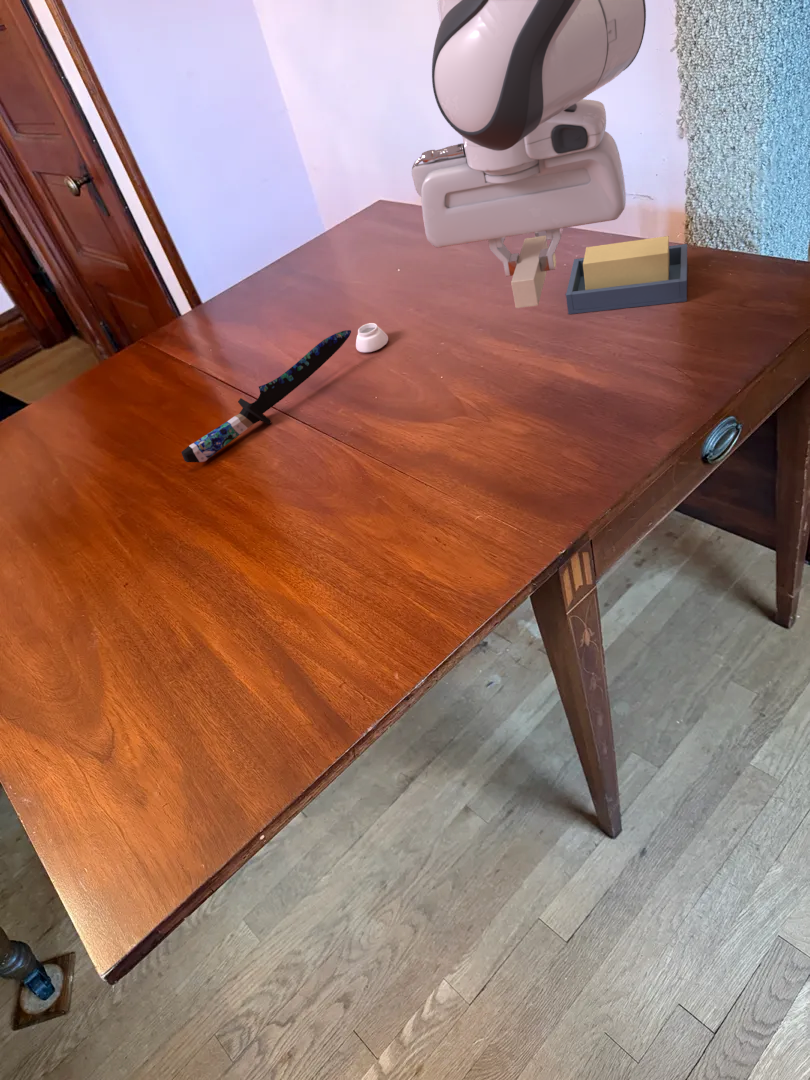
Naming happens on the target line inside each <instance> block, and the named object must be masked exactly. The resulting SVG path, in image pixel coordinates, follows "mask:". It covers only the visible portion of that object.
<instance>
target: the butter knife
mask: <svg viewBox="0 0 810 1080" xmlns="http://www.w3.org/2000/svg"><path fill="white" fill-rule="evenodd" d="M548 247H549V245H548V240H547V236H546V231H542V232H536V233H534V237H526V238H524V239H523V243H522V246H521V249H520V252H519V259H518V263H517V265H516V268H515V271H514V275H513V276H512V279H511V281H510V284H511V290H512V291H511V292H512V295H513V301H514V306H515V309H523V308H529V307H530V308H531V307H539V304H540V300H541V296H542V292H543V289H544V285H545V280H546V277H547V273H548V271H542V272H541V270H540V265H541V264H540V263H539V254H540V250H542V249H548Z"/></svg>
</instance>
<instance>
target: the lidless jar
mask: <svg viewBox="0 0 810 1080" xmlns="http://www.w3.org/2000/svg"><path fill="white" fill-rule="evenodd" d="M388 341H389V336H388V334H387V333H386V332H385V331H384V330H383V329H382V328H381V327H379V326H378V324H377V323H375V322H369V323H368V322H367V323H365V324H363V325H361V326H360V327H358V329H357V335H356V340H355V348H356V350H357V351H358V352H359V353H372V352H375V351H378V350H380V349H382V348H383V347H385V345H387V344H388Z"/></svg>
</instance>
